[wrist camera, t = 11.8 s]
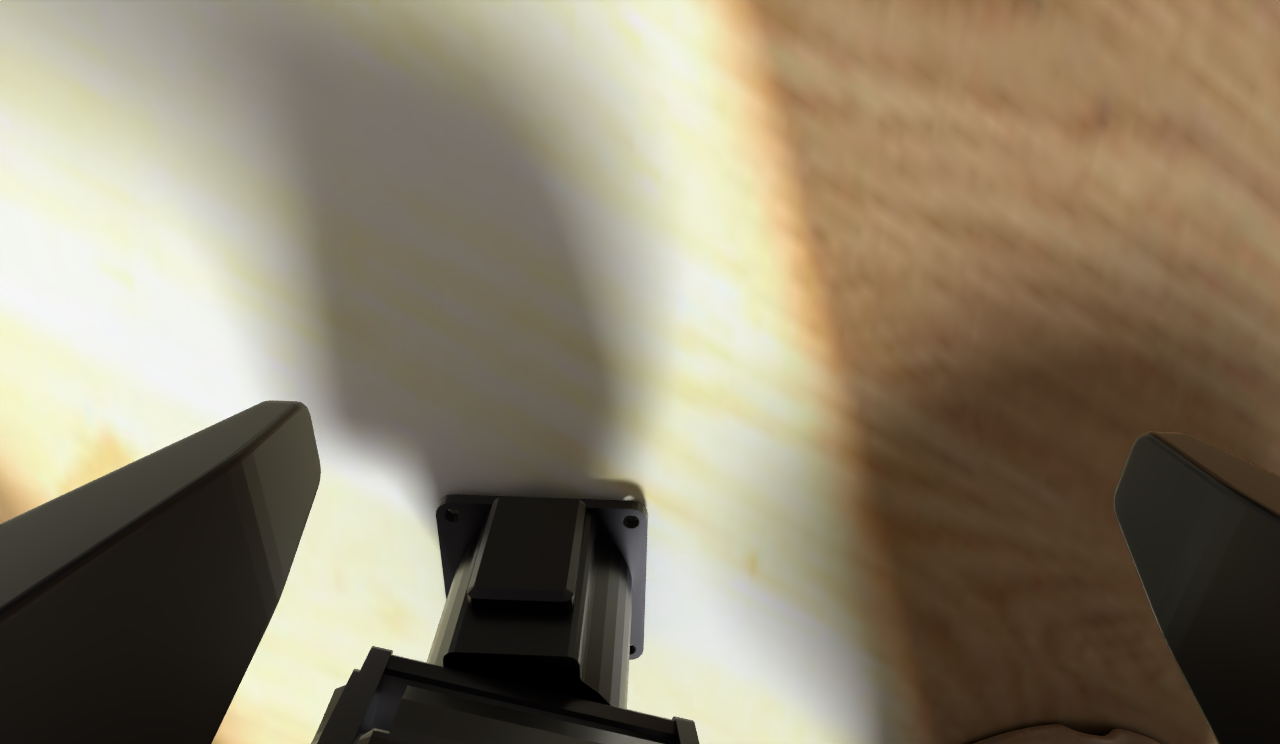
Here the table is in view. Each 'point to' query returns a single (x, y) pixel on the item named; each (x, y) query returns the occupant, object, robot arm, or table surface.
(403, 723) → the robot arm
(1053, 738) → the plant pot
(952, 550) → the table surface
